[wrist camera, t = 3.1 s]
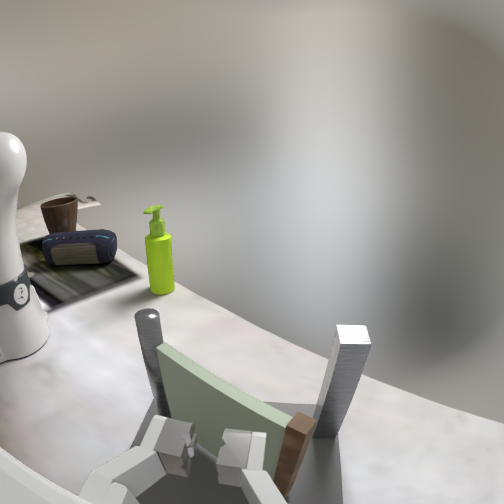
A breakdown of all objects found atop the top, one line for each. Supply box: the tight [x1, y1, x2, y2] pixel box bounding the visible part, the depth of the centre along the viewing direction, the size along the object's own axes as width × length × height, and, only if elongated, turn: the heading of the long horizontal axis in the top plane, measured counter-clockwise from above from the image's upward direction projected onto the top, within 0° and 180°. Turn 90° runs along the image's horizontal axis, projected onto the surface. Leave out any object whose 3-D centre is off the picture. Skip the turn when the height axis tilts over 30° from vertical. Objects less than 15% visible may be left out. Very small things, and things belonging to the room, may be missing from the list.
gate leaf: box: [156, 342, 317, 498], centre depth 25 cm, size 16×2×14 cm, turn 53°
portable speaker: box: [42, 229, 117, 266], centre depth 78 cm, size 25×10×10 cm, turn 103°
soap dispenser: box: [143, 205, 175, 295], centre depth 64 cm, size 6×7×20 cm
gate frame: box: [130, 309, 371, 504], centre depth 25 cm, size 25×20×18 cm
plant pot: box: [41, 197, 78, 234], centre depth 91 cm, size 15×15×16 cm
